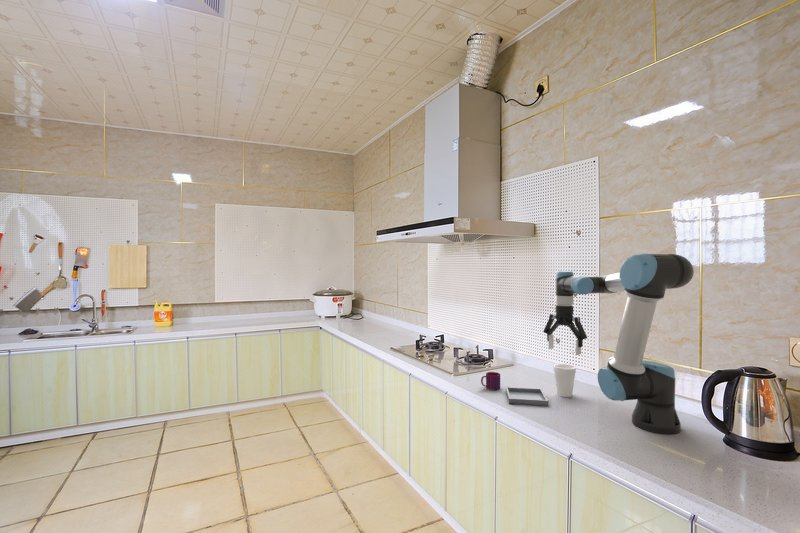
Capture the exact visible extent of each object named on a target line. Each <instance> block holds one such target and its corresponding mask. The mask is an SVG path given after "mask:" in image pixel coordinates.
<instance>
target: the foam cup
mask: <svg viewBox="0 0 800 533" xmlns="http://www.w3.org/2000/svg"><path fill="white" fill-rule="evenodd" d="M576 371H577V368H576V366H575V365H572V364H567V363H555V364H553V373H554V379H555V380H554V381H555V388H556V395H558V396H559V397H562V398H571V397H572V396H573V392H574V386H575V378H576V377H575V376H576V373H577V372H576Z"/></svg>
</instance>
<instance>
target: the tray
mask: <svg viewBox="0 0 800 533" xmlns="http://www.w3.org/2000/svg"><path fill="white" fill-rule="evenodd" d="M505 394H506V397H507V401H508V405H521V406H522V405H526V406H540V407H542V406H543V407H549V399H548V398H547V396H546V393H545V392H544V391H543V388H534V387H514V386H505Z"/></svg>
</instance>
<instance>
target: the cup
mask: <svg viewBox="0 0 800 533" xmlns="http://www.w3.org/2000/svg"><path fill="white" fill-rule="evenodd" d="M484 378H485V384H484V381H483V380H484ZM480 383H481V385H482V386H483V387H485V388H486V389H487V390H490V391H498V390H500V389H501V373H500V372H494V371H488V372H486V373H485V375H483V376H482V377H481V379H480Z"/></svg>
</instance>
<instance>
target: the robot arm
mask: <svg viewBox="0 0 800 533" xmlns="http://www.w3.org/2000/svg"><path fill="white" fill-rule="evenodd" d="M694 273H695V271H694V267H693V264H692V262H691V261H690V260H689V259H688V258H686V257H684V256H682V255H679V254H675V253H664V254H663V253H641V254H634V255H631V256H629V257H627V258H626V259H625V260H624V261H623V262H622V264H621V266H620V268H619V272H615V273H612V274H606V275H594V276H593V275H586V276H585V275H584V276H582V275H580V276H578V275H577V276H576V275H574V272H573V271H570V270H562V271H561V270H560V271H559V270H557V271H556V273H555V278H554V282H555V304H556V305H555V313H550V314H549V316H548V317H549V318H548V320H547V322H546V324H545V326H544V329H543V333H544V334H546V340H547V342H548V350H552V349H554V347H555V346H554V343H555V342H554V338H555V336H554V335H555V334H554V332H555V331H556V329H558V328H559V326H565V327H568V328H569V329H570V330H571V332H572V333H573V334H574V336H575V338H576V339H575V355H577V356H579V355H581V354H582V348H583V343H584V340H586V339H588V336H587V333H586V331H585V329H584V327H583V324H582V322H581V317H579V316H576V317H575V316H574V306H573V305H574V294H576V295H582V296H583V295H589V294H615V293H619V292H623V291H624V292H625V294H626V295H627V299H626V302H625V308H624V312H623V316H622V319H621V320H622V321H621V325H620V330H619V334H618V337H617V343H616V347H615V352H614V356H610V357H609V358H608V361H607V365H606V367H605V366H603V367H601V368H599V369H598V372H597V383H598V385H599V388H600V391H601V392H602V393H603V395H605V397H606V398H607V399H609V400H611V401H615V402H617V401H620V402H624V401H633V400H635V401H636V403H635V406H634V407H633V408H634V409H633V411H632V413H631V423H632V424H633V425H634V426H636V427H637V428H640V429H643V430H645V431H648V432H652V433H656V434H665V435H675V434H679V433H680V432H681V429H682V425H681V421H680V418H679V415H678V412H677V410H676V407H675V406H676V403H675V401H676V400H675V399H676V376H675V374H676V373H675V369H674V368H673V366H671V365H668V364H665V363H661V362H656V361H652V360H645V359H644V356H645V352H646V349H647V348H646V347H647V344H648V343H647V342H648V339H649V335H650V331H651V327H652V324H653V321H654V320H653V319H654V315H655V312H656V307H657V303H658V302H659V301H660V300H663V299H664V297H665V294H666V291H667V289H668V290H670V289H680V288H682V287H684V286H687V285H688V284H689V283H690V282H691V281H692V279H693V277H694ZM555 319H556V321H555ZM554 321H555V322H554Z"/></svg>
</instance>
